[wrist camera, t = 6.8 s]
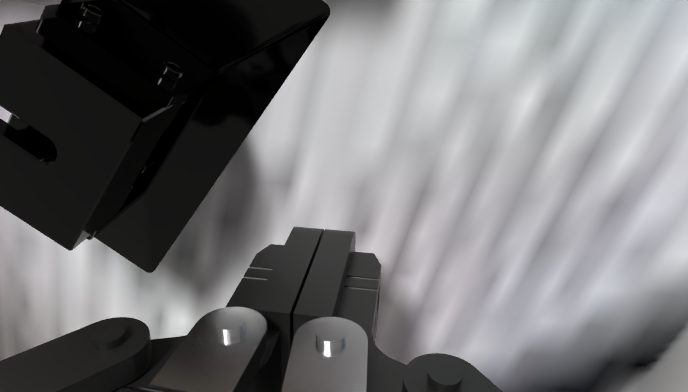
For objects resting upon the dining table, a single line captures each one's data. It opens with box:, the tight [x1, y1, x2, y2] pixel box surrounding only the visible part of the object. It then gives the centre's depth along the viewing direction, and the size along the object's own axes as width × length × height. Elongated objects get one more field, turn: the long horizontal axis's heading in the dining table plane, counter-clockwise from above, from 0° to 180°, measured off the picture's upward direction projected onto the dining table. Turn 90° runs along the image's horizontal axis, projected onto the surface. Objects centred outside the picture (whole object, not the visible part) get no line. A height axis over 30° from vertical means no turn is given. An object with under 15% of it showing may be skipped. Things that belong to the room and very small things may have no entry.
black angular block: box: [0, 0, 330, 273], centre depth 12 cm, size 12×7×5 cm, turn 144°
